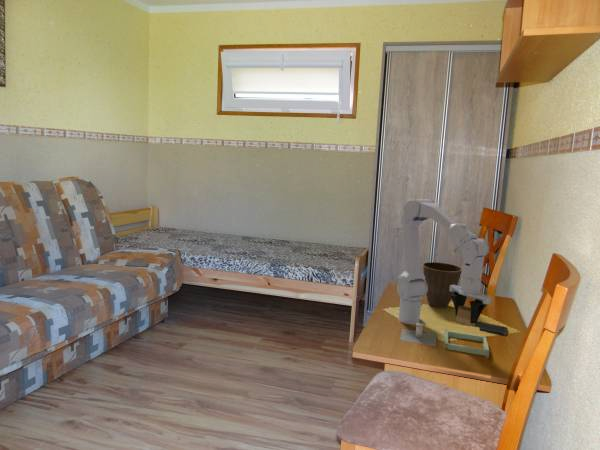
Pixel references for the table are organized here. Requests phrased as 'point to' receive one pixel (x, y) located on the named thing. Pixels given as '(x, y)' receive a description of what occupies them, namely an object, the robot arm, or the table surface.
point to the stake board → (415, 340)
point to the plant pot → (440, 282)
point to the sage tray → (466, 348)
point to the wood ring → (464, 316)
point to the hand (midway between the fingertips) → (466, 319)
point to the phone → (491, 328)
